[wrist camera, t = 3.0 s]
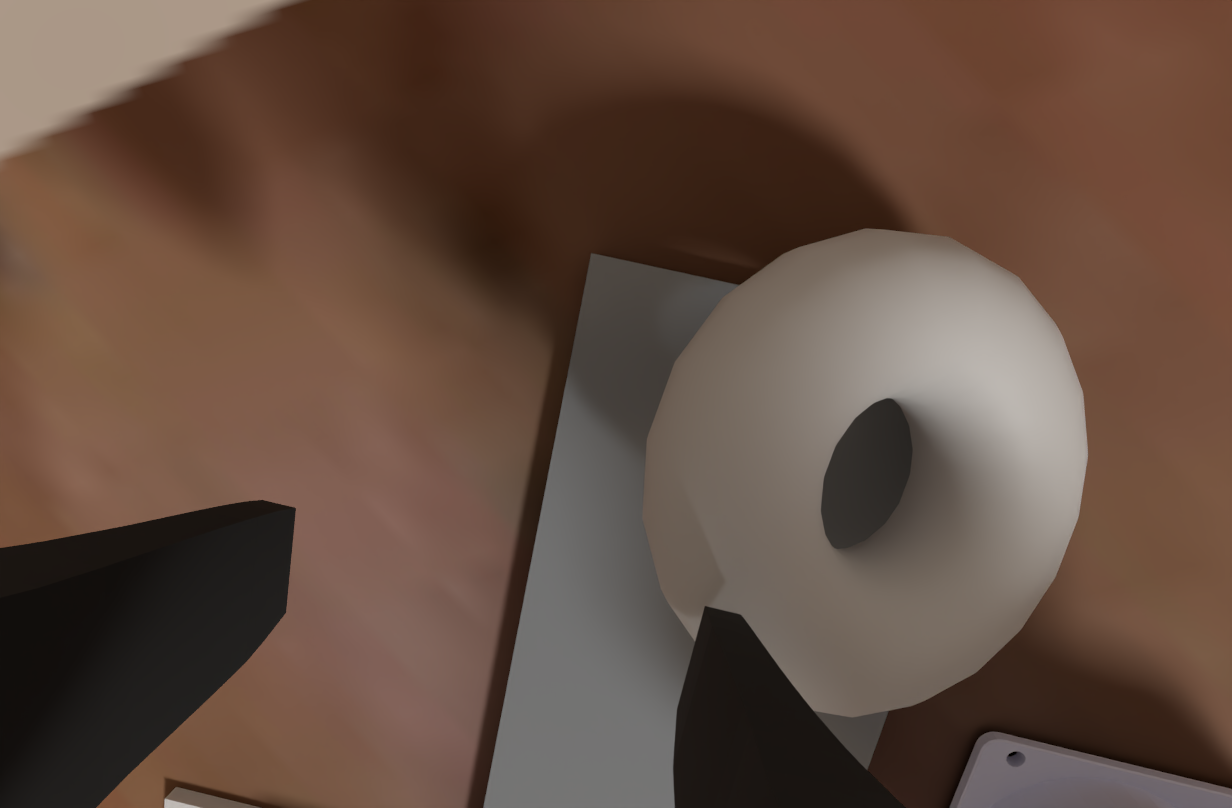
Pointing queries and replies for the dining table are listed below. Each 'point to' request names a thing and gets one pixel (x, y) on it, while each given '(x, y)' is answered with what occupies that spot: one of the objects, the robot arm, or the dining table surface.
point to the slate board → (637, 560)
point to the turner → (199, 800)
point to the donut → (804, 443)
